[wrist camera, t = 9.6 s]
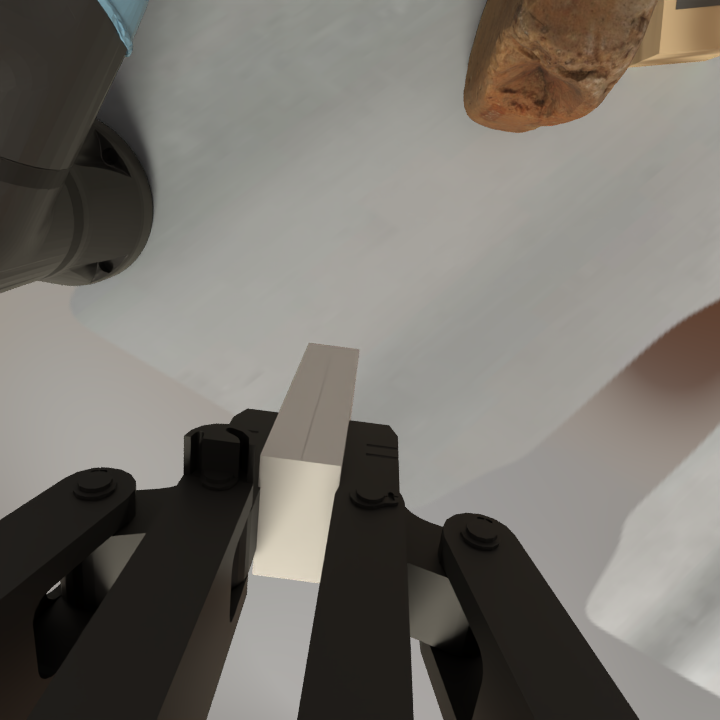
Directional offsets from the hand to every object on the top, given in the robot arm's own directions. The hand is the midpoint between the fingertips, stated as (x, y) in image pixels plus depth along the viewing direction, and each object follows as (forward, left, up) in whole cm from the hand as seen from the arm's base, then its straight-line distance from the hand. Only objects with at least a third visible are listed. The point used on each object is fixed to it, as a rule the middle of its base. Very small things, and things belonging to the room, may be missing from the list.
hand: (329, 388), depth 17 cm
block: (+8, +16, -36) cm, 40 cm away
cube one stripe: (+19, +21, -36) cm, 46 cm away
